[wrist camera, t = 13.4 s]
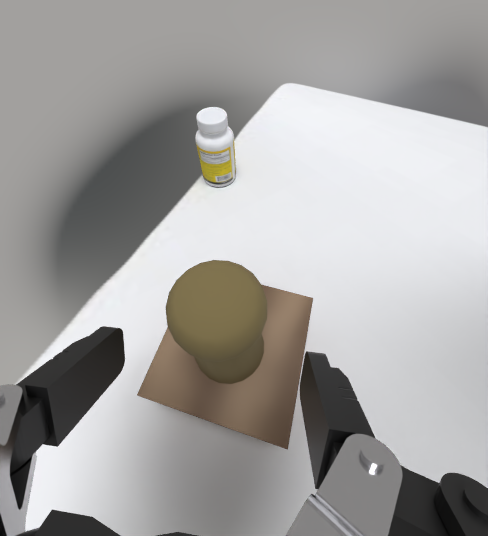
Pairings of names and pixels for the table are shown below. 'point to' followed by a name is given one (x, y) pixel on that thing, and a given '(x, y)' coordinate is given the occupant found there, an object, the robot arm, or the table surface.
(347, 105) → the table surface
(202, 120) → the supplement bottle
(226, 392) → the walnut riser
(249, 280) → the cork
